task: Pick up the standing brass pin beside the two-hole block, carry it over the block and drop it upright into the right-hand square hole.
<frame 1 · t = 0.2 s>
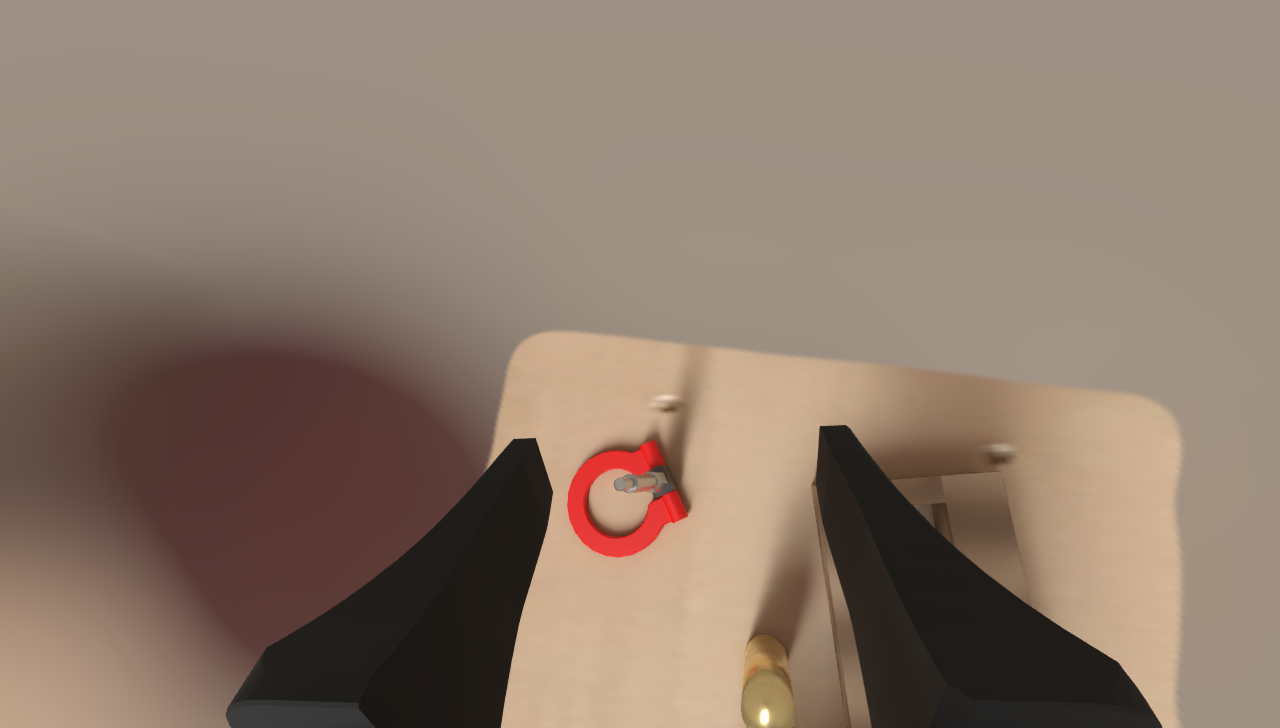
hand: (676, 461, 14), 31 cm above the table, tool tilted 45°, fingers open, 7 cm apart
hole block: (919, 622, 39), on the table
brass pin: (765, 656, 40), on the table
tow hook: (624, 500, 45), on the table
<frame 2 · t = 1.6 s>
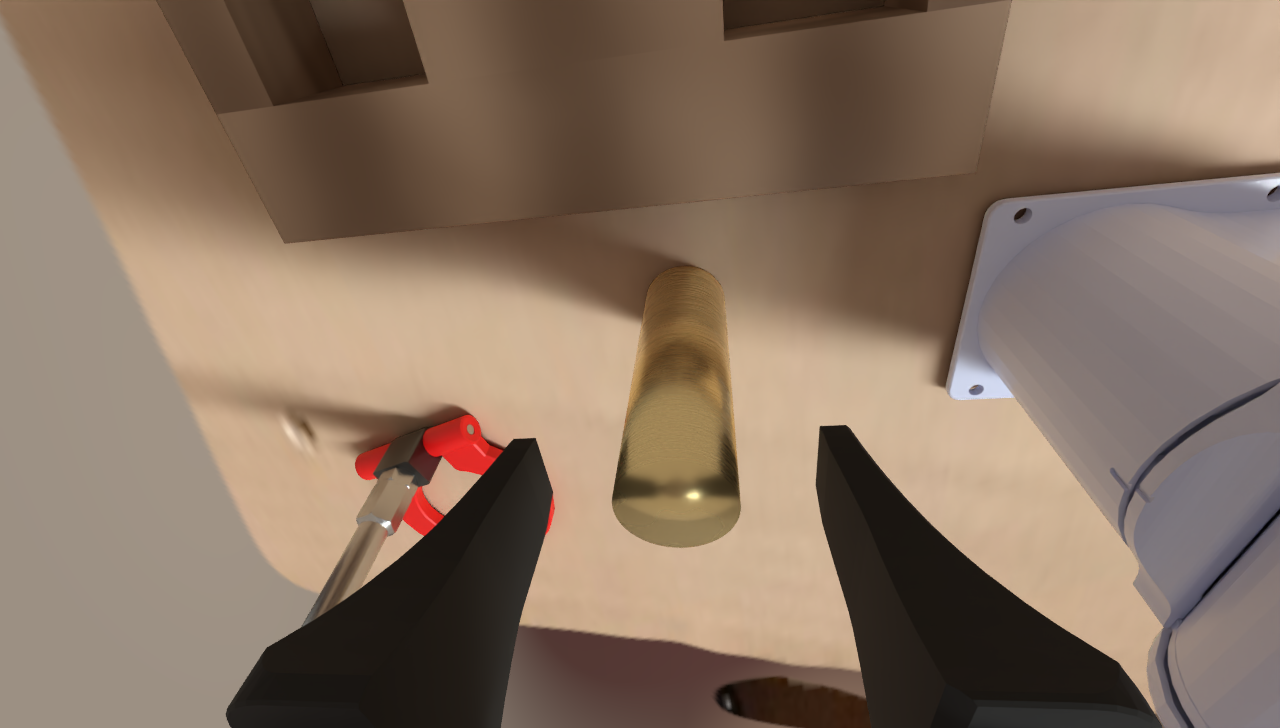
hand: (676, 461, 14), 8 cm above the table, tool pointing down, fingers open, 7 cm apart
brass pin: (685, 302, 21), on the table
tow hook: (472, 484, 29), on the table
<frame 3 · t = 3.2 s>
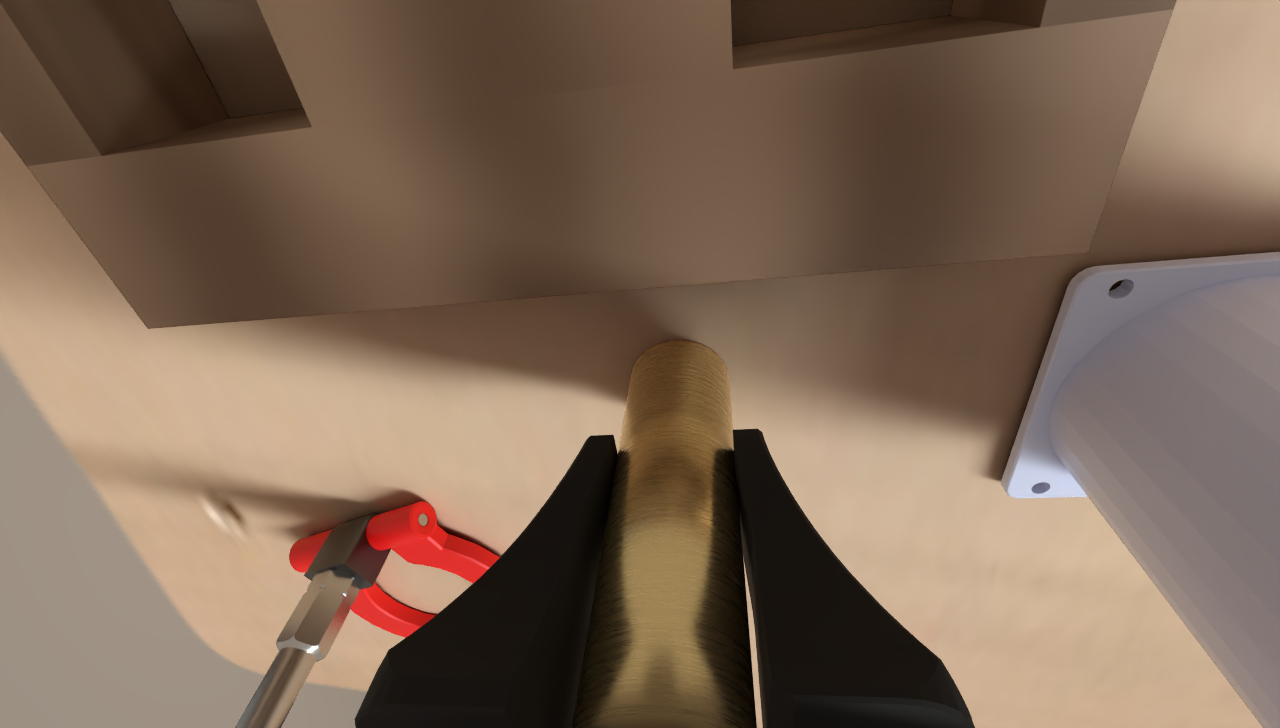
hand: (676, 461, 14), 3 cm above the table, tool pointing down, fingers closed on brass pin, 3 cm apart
brass pin: (679, 381, 17), on the table, touching gripper
tow hook: (432, 570, 24), on the table
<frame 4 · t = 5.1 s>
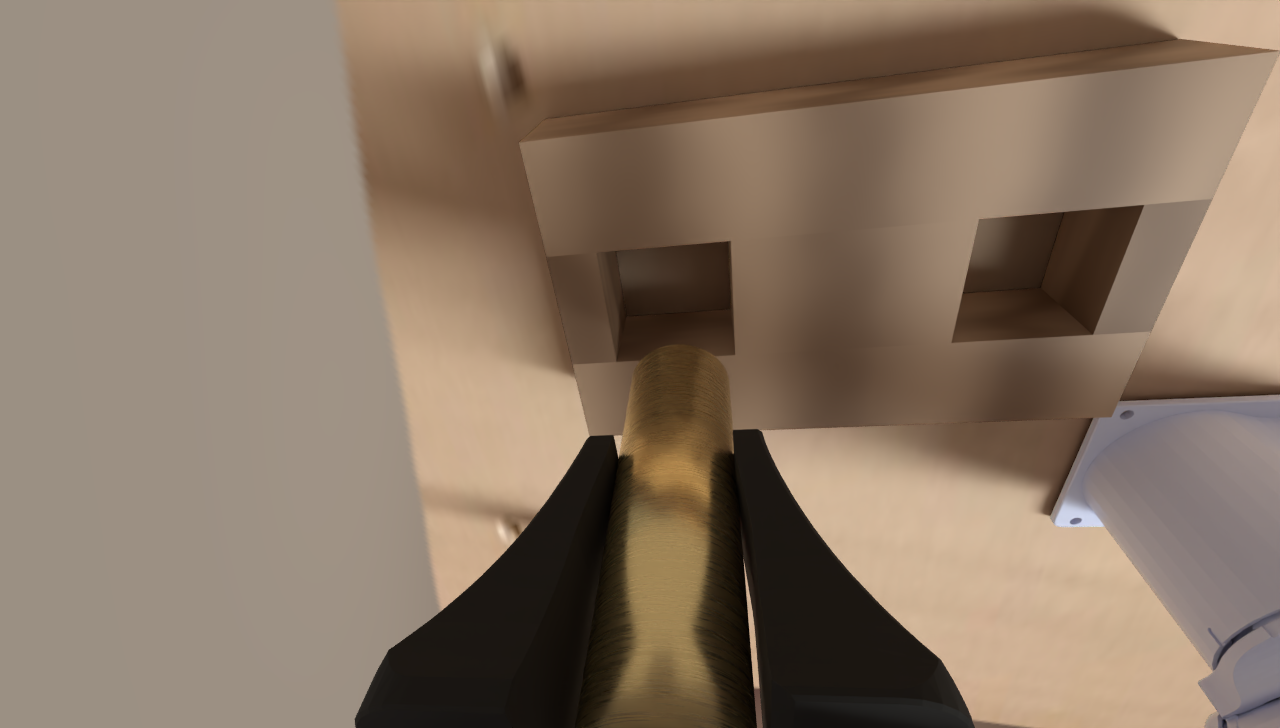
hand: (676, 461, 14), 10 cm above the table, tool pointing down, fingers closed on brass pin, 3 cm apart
hole block: (825, 252, 21), on the table
brass pin: (680, 385, 17), point 7 cm above the table, touching gripper
when the fingers open (5 cm above the table, at t = 7.2 s): brass pin drops 2 cm, resting in hole block.
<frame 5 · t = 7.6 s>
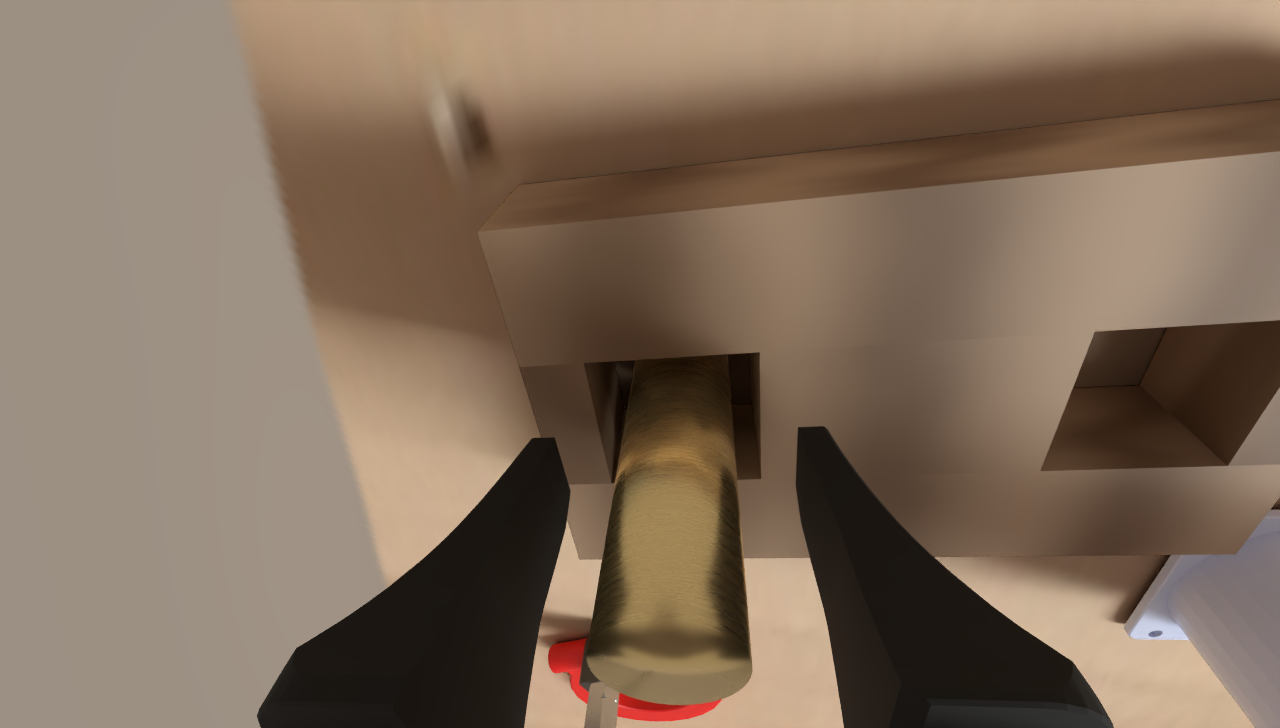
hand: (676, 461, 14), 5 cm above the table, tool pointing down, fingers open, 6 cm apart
hole block: (871, 342, 17), on the table
brass pin: (681, 356, 18), resting in hole block
tow hook: (644, 665, 31), on the table
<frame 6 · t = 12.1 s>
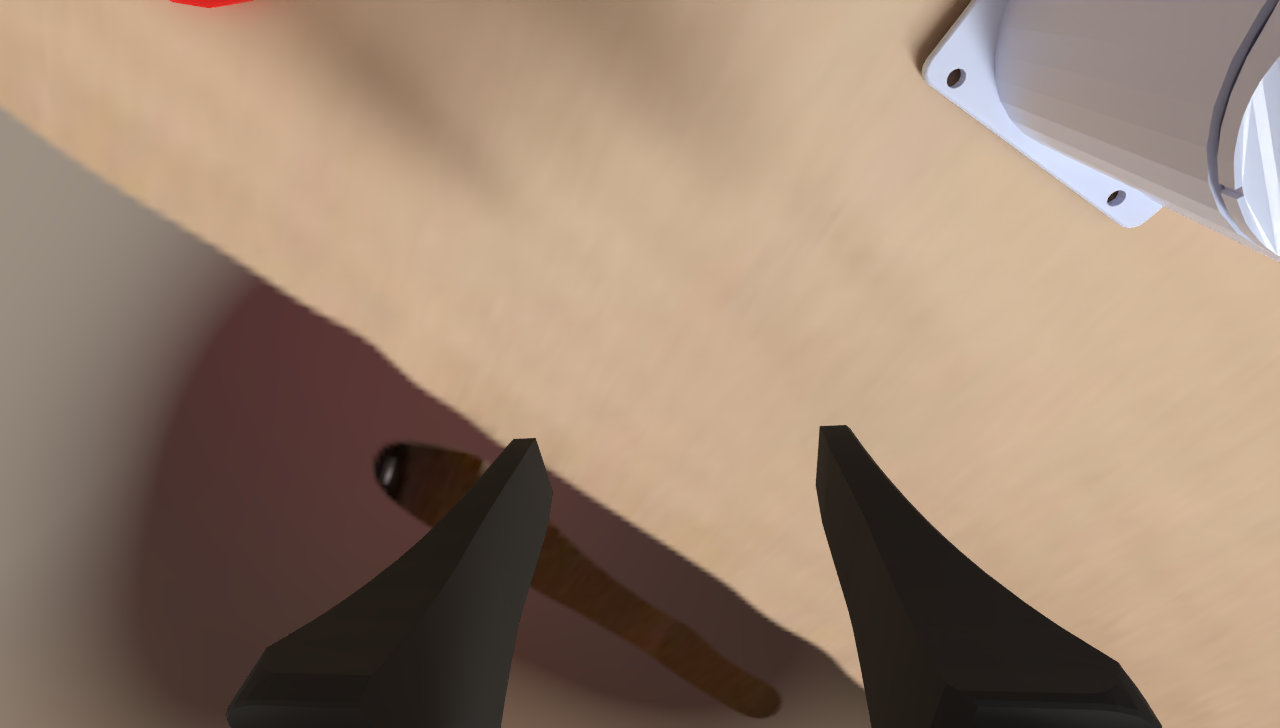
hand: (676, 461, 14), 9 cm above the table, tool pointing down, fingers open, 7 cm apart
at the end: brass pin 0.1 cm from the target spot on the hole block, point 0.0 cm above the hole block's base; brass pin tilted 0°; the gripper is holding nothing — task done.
